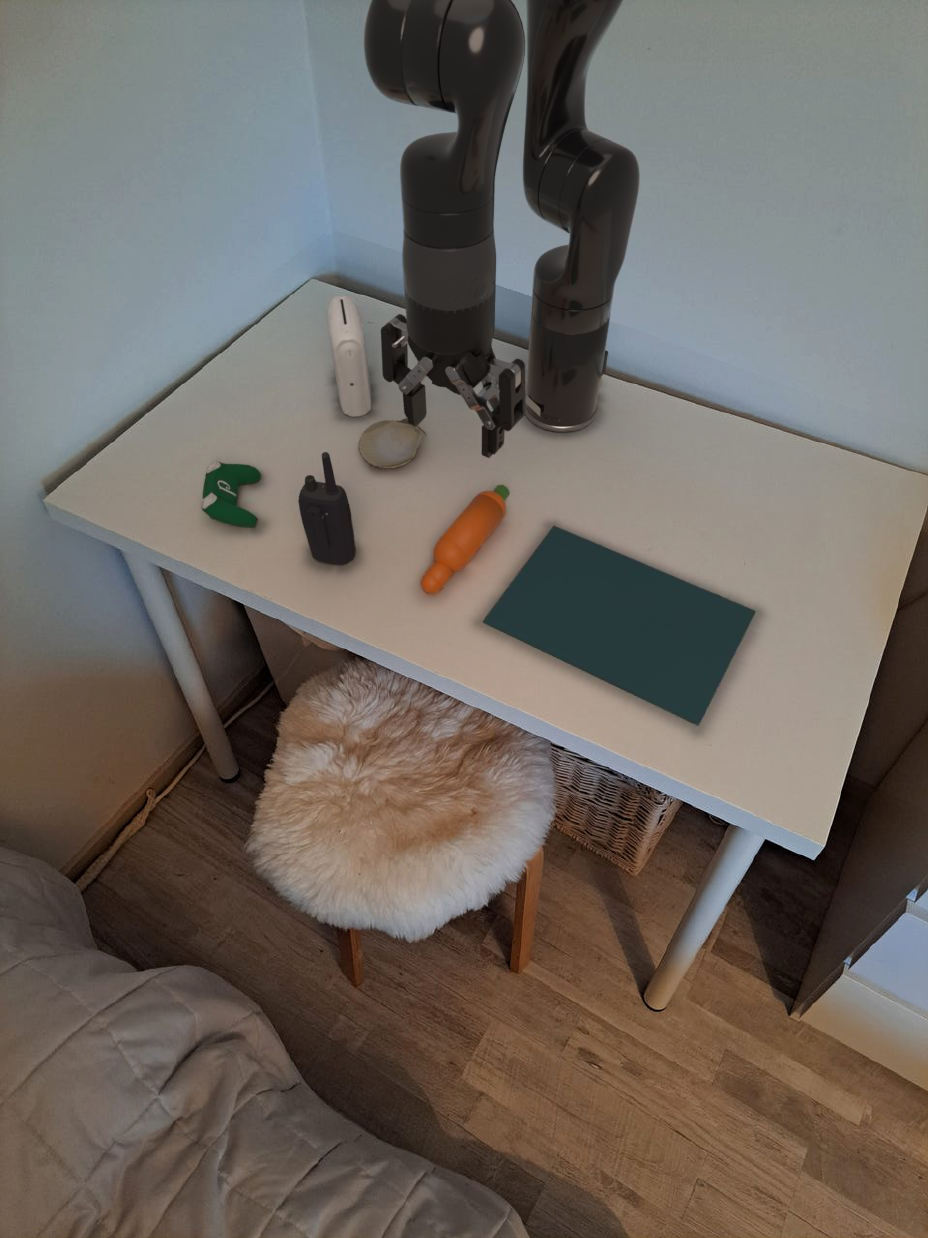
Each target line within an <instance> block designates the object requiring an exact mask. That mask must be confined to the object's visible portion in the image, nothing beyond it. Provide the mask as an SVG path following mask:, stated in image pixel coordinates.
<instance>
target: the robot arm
mask: <svg viewBox="0 0 928 1238" xmlns="http://www.w3.org/2000/svg"><path fill="white" fill-rule="evenodd" d="M623 3H624V0H525V6H526V7H525V9H526V12H525V13H526V36H525V30H524V24H523V21H522V18H521V16H520V12H519V10H518V9H517V7H516V5H515V3H514V2H513V1H512V0H371V1H370V4H369V6H368V11H367V15H366V18H365V23H364V24H365V25H364V31H363V53H364V60H365V66H366V69H367V72H368V75H369V77H370V80H371V82H372V84H373V86H374V87H375V89H377V91H378V92H379V93H380V94H381V95H382V96H383V97H385V98H387V99H388V100H391V101H392V102H393V101H394V102H396V103H400V104H404V105H410V106H415V107H420V108H426V109H431V110H436V111H441V112H446V113H453V114H455V115H456V116H457V131H451V132H450V131H449V132H439V133H434V134H428V135H425V136H422V137H419V138H417V139H414V140H413V141H412V142H410V143H409V144H408V145H407V146H406V147H405V148H404V151H403V152H402V155H401V158H400V163H399V180H400V181H399V183H400V196H401V197H400V198H401V211H402V226H403V228H402V229H403V230H402V231H403V236H402V249H401V250H402V252H401V258H402V259H401V260H402V277H403V290H404V302H405V304H404V305H405V315H404V314H402V313H398V314H397V315H395V316H394V317H392V318H391V319H390V320H389V321H388V322H387V323H386V324H384V325H383V326H382V327H381V328H380V345H381V347H380V348H381V349H380V350H381V370H382V377H383V379H384V380H385V381H386V382H387V383H393V382H394V383H395V384H397V385H398V387H397V388H398V390H399V391H400V392H401V393H402V403H403V414H404V415H405V418H408V423H409V424H410V425H413V426H419V424H420V423H421V422H422V421H424V420H425V418H426V417H427V413H428V412H427V411H428V410H427V393H426V385H425V384H423V383H422V382H423V381H424V379H425V378H428V379H429V380H430V381H431V385H434V386H436V387H439V388H446V389H447V390H449V391H450V392H452V393H453V394H455V395H458V396H461V398H462V399H463V400H464V402H465V404H466V406H467V407H468V409H470V411H475V412H476V415H477V416H478V418H479V419H480V421H481V423H482V426H481V456H483V457H485V458H487V459H490V458H491V457H492V456H493V455H496V454H497V453H498V451H500V450H501V449H502V447H503V446H504V444H505V434H506V433H505V432H510V431H511V430H512V429H513V428H514V427H515V426H517V424H518V423H519V422H521V420H522V419H523V418H524V417H525V416H526V418H527V419H528V420H529V421H530V422H531V423H532V424H533V425H535V426H536V427H539V429H540V428H541V429H543V430H546V431H550V432H555V433H570V432H576V431H580V430H582V429H584V428H586V427H587V426H589V425H590V424H591V423H592V422H593V421H594V420H595V418H596V416H597V412H598V401H599V394H600V393H599V392H600V388H601V381H602V377H603V375H604V374H605V373H606V369H607V361H608V356H609V351H608V350H606V347H607V341H608V335H609V334H608V333H609V326H610V320H611V312H612V307H613V306H612V305H613V299H614V292H615V286H616V283H617V279H618V276H619V274H620V272H621V269H622V267H623V265H624V262H625V259H626V254H627V250H628V245H629V240H630V235H631V229H632V225H633V220H634V216H635V211H636V207H637V203H638V196H639V191H640V177H641V175H640V165H639V161H638V159H637V156H636V155H635V154H634V152H633V151H632V150H630V149H629V148H628V147H626V146H624V145H622V144H620V143H618V142H616V141H613V140H611V139H609V138H606V137H604V136H602V135H600V134H597V133H595V132H593V131H592V130H589V129H588V126H587V122H586V88H587V80H588V79H587V78H588V71H589V68H590V65H591V62H592V60H593V57H594V55H595V54H596V51H597V49H598V47H599V45H600V44H601V42H602V40H603V39H604V38H605V36H606V33H607V32H608V30H609V29H610V27H611V25H612V24H613V21H614V20H615V18H616V17H617V14H618V12H619V10H620V9H621V6H622V5H623ZM525 56H526V100H525V101H526V102H525V117H524V134H523V136H524V137H523V153H522V186H523V193H524V196H525V201H526V203H527V205H528V207H529V209H530V210H531V211H532V212H533V213H534V214H535V215H536V216H537V217H539V218H540V219H541V220H543V221H545V222H547V223H549V224H550V225H553V226H554V227H555V228H558V229H560V230H562V231H563V232H565V233H567V234H569V240H568V244H563V245H558V246H556V247H553V248H551V249H549V250H546V251H545V252H544V253H542V254H541V255H540V256H539V258H537V260H536V262H535V264H534V268H533V274H532V288H531V289H532V292H531V306H530V324H529V336H528V337H529V338H528V339H529V341H528V352H527V353H528V355H527V367H526V364H525V362H524V361H523V360H522V359H521V358H514V359H513V360H512V361H511V362H507V361H504V360H501V359H499V358H497V357H496V354H495V352H494V349H493V346H492V344H493V338H494V335H495V327H496V287H497V247H496V239H495V238H496V237H495V226H494V225H495V192H496V191H495V190H496V174H497V166H498V162H499V156H500V152H501V146H502V144H503V143H502V142H503V138H504V134H505V130H506V126H507V122H508V118H509V115H510V111H511V107H512V105H513V101H514V99H515V95H516V93H517V89H518V86H519V82H520V79H521V76H522V71H523V66H524V63H525ZM408 346H409V347H408ZM408 348H409V349H410V351H411V352H412V354H413V355H414V357H415V359H416V361H417V363H416V364H415V366H414V367H413V368H412V369H411V368H410V367H409V363H408V362H409V357H408V356H409V354H408V353H409V351H408V350H409V349H408ZM526 368H527V371H526ZM526 373H527V374H526ZM479 384H481V385H482V389H481V390H480V391H479V392H478V393H477V392H476V391H475V389H474V388H475V387H477V386H478V385H479ZM488 403H489V406H490V407H491V409H492V410H491V409H490V407H489V406H488Z"/></svg>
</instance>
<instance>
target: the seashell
mask: <svg viewBox="0 0 928 1238" xmlns="http://www.w3.org/2000/svg"><path fill="white" fill-rule="evenodd" d="M426 436H427V433H426V431H425V430H423V428H421V427H420V426H419V425H417V426H413V425H410V424H409V423H408V418H407V417H405V418H402V419H401V420H393V419H392V420H388V419H387V420H381V421H377V422H375V423H372V424H371V425H369V426H368V427H366V428H365V430H364V431H363V432H362V434H361V436H360V438H359V441H358V450H359V453H360V456H361V457H362V459H363V460H364V461H365V463H368V465H369V466H373V467H374V468H379V469H385V470H388V469H391V470H394V469H395V468H400V467H402V466H405V465H406V464H408V463H410V462H411V460H413V459H414V457H415V455H416V453H417V451H418V449H419V447H420V445H421V443H422V442H423V441H424V439H425V438H426Z"/></svg>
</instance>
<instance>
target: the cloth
mask: <svg viewBox="0 0 928 1238" xmlns="http://www.w3.org/2000/svg"><path fill="white" fill-rule="evenodd" d="M756 611H757V610H754V609H752V608H749V607H747V606H745V605H742V604H741V603H738V602H735V601H733V600H731V599H729V598H726V597H724V596H721V595H719V594H717V593H715V592H712V591H709V590H707V589H705V588H702V587H700V586H698V585H695V584H693V583H690V582H688V581H686V580H683V579H681V578H679V577H676V576H674V575H672V574H670V573H668V572H665V571H663V570H660V569H657V568H655V567H653V566H651V565H648V564H645V563H643V562H641V561H639V560H636V559H634V558H632V557H629V556H627V555H624V554H622V553H619V552H617V551H615V550H614V549H613V550H612V549H610V548H608V547H606V546H603V545H601V544H598V543H596V542H594V541H592V540H588V539H587V538H584V537H582V536H580V535H577V534H574V533H572V532H570V531H568V530H565V529H563V528H561V527H559V526H556V525H553V526H552V528H551V529H550V530H549V532H547V534H546V536H545V537H544V539H543V540H542V541H541V543H540V544H539V545H538V547H537V548H536V549H535V550H534V552H533V553H532V554H531V556H530V558H529V559H528V560H527V561H526V563H525V564H524V565H523V567H522V568H521V569H520V571H519V572H518V573H517V575H516V576H515V578H514V579H513V580H512V582H510V584H509V585H508V587H507V589H505V591H504V592H503V593H502V595H501V596H500V598H499V599H498V600H497V602H496V603H495V605H494V606H493V607H492V609H491V610H490V611H489V612H488V614H487V616H485V618H484V619H483V622H482V623H483V624H485V625H486V626H490V627H491V628H494V629H496V630H498V631H500V632H502V633H504V634H506V635H507V636H510V637H512V638H514V639H517V640H519V641H520V642H523V643H525V644H527V645H529V646H531V647H533V648H535V649H537V650H539V651H542V652H543V653H546V654H548V655H550V656H552V657H554V658H555V659H559V660H560V661H563V662H564V663H567V664H569V665H571V666H573V667H574V668H577V669H579V670H581V671H583V672H585V673H588V674H590V675H592V676H593V677H596V678H598V679H600V680H601V681H604V682H607V683H608V684H611V685H613V686H614V687H616V688H619V689H621V690H623V691H625V692H627V693H629V694H631V695H633V696H635V697H637V698H639V699H641V700H643V701H646V702H648V703H650V704H652V705H654V706H655V707H658V708H661V709H663V710H665V711H667V712H669V713H671V714H673V715H675V716H677V717H679V718H681V719H684V720H685V721H688V722H690V723H692V724H693V725H696V726H700V724H701V722H702V719H703V718H704V715H705V713H706V712H707V710H708V708H709V706H710V704H711V701H712V699H713V698H714V696H715V693H716V692H717V690H718V687H719V686H720V684H721V682H722V680H723V678H724V676H725V673H726V672H727V670H728V668H729V666H730V664H731V662H732V660H733V658H734V656H735V653H737V650H738V648H739V646H740V643H741V642H742V639H743V638H744V636H745V634H746V632H747V630H748V628H749V626H750V624H751V622H752V620H753V618H754V616H755V614H756Z"/></svg>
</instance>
